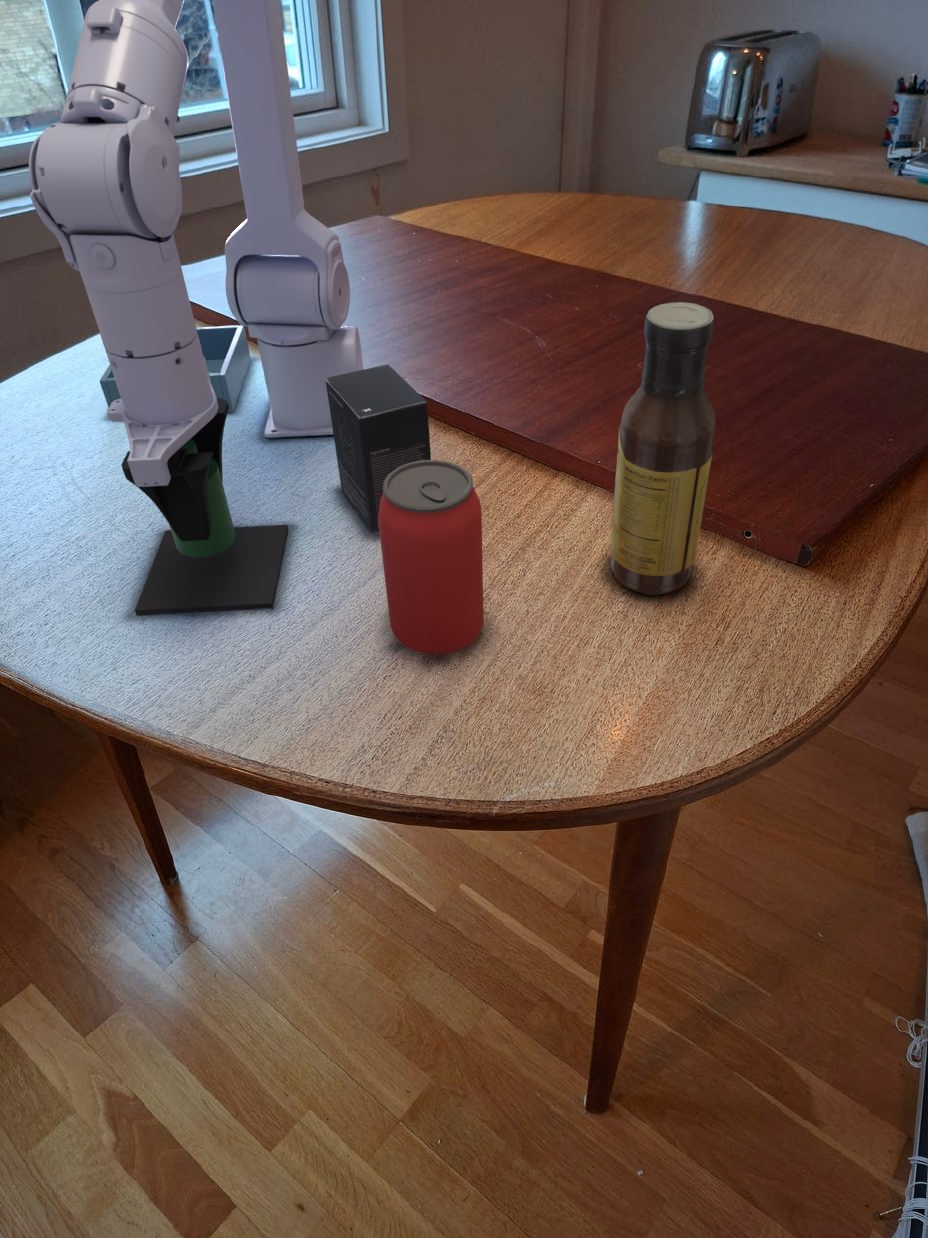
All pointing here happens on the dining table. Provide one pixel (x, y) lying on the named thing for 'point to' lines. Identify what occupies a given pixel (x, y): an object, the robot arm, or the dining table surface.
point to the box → (375, 433)
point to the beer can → (432, 556)
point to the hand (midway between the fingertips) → (202, 517)
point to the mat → (216, 575)
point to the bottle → (219, 515)
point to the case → (210, 363)
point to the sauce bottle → (664, 454)
